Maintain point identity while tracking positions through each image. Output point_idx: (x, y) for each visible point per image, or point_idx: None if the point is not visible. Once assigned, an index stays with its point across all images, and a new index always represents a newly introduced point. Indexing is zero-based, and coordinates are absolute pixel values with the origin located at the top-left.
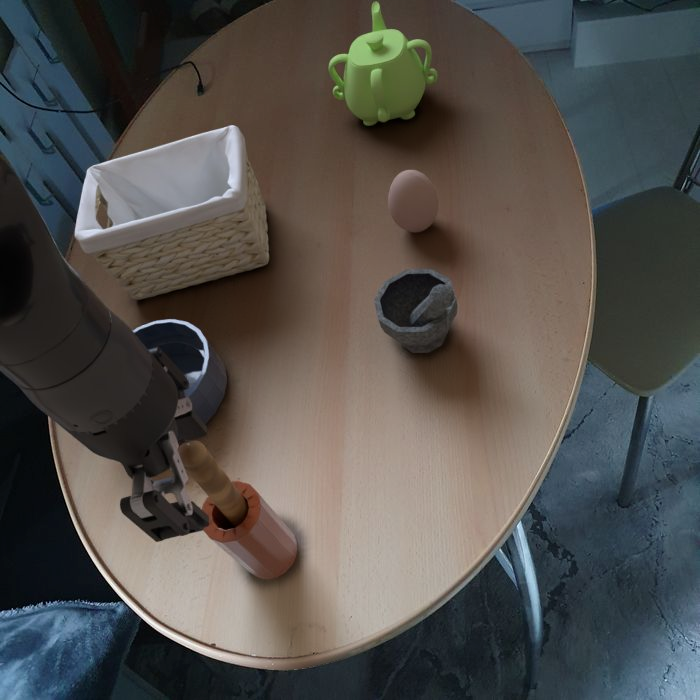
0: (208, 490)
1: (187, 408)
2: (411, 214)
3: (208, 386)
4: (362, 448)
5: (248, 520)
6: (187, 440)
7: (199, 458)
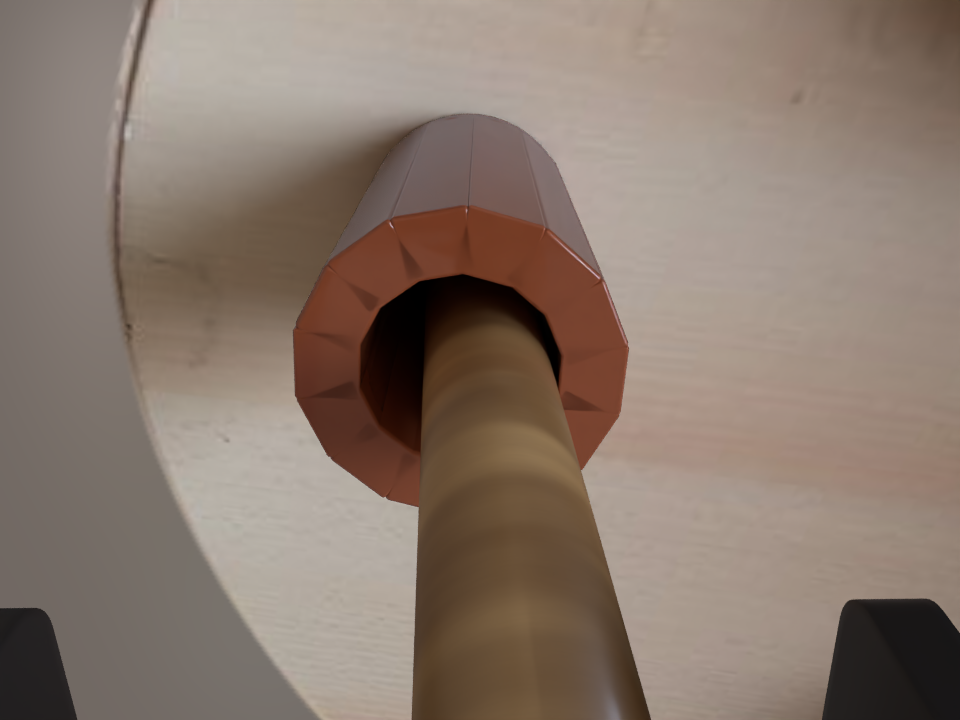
0: (418, 575)
1: None
2: None
3: None
4: (743, 533)
5: (387, 459)
6: (848, 606)
7: None
